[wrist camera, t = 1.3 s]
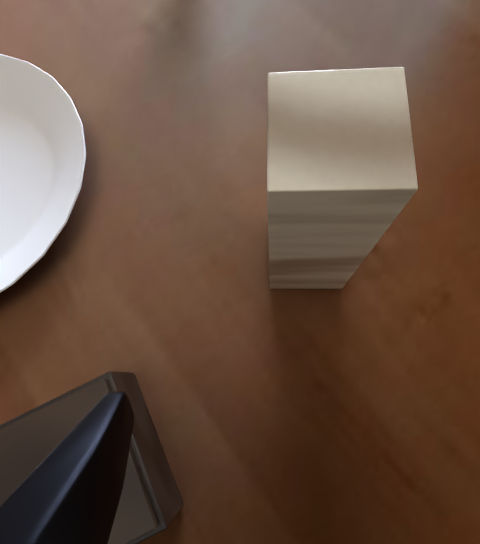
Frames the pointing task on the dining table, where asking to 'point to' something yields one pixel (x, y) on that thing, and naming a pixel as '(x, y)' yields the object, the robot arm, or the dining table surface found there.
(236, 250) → the dining table surface
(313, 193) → the block
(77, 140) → the plate
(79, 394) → the stand
